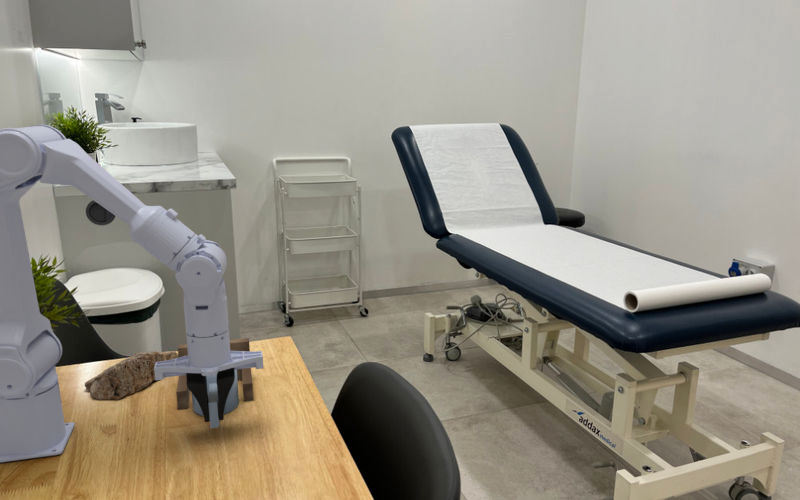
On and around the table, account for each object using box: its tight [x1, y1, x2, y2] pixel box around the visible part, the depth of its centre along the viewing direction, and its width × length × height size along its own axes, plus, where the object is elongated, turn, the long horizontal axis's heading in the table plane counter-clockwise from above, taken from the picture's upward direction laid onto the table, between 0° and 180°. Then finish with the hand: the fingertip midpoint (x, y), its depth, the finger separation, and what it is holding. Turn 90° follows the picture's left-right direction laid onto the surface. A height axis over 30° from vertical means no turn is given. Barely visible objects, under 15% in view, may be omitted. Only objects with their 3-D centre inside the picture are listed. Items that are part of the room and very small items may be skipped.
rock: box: [84, 350, 179, 401], centre depth 103 cm, size 15×10×6 cm
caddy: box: [175, 337, 254, 410], centre depth 99 cm, size 12×9×7 cm
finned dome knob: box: [191, 369, 240, 429], centre depth 92 cm, size 7×13×6 cm, turn 16°
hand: (214, 417), depth 87 cm, fingers closed on finned dome knob
